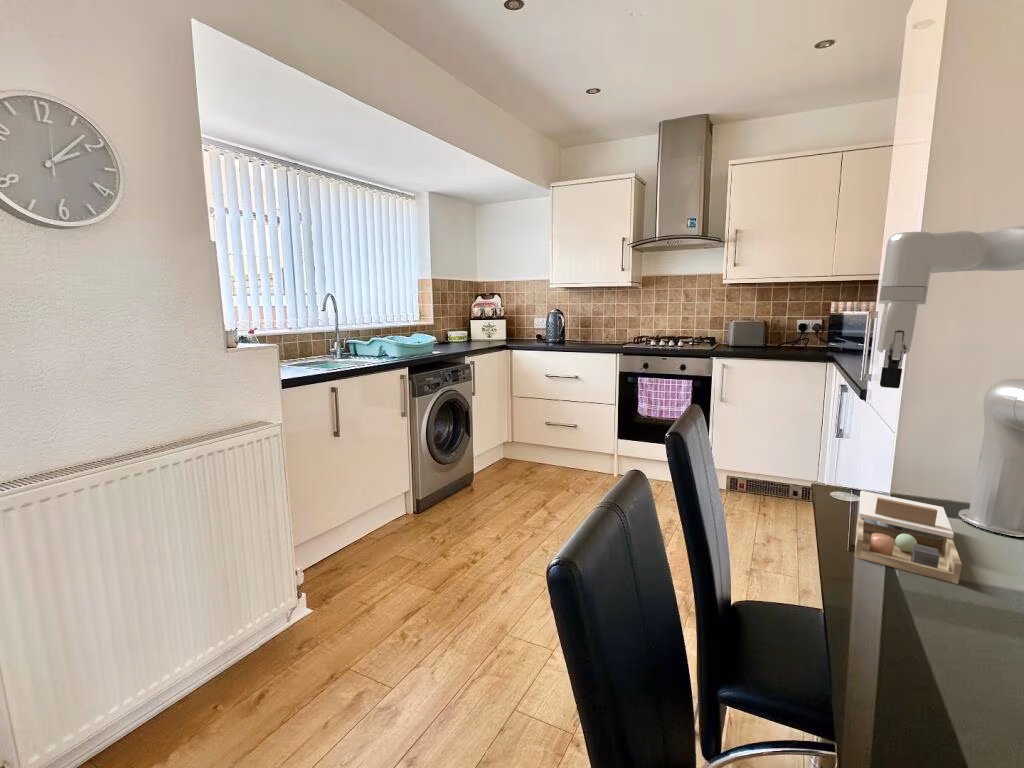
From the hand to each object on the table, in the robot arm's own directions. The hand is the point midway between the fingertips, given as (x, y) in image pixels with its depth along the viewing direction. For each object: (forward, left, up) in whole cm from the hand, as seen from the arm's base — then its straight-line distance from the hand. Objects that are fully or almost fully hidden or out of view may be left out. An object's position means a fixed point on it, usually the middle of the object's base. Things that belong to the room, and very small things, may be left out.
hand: (889, 387), depth 104 cm
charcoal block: (+16, +15, -28) cm, 36 cm away
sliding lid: (+3, +7, -24) cm, 26 cm away
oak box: (+13, +11, -29) cm, 33 cm away
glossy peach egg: (+17, +9, -28) cm, 34 cm away
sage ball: (+12, +11, -28) cm, 32 cm away
